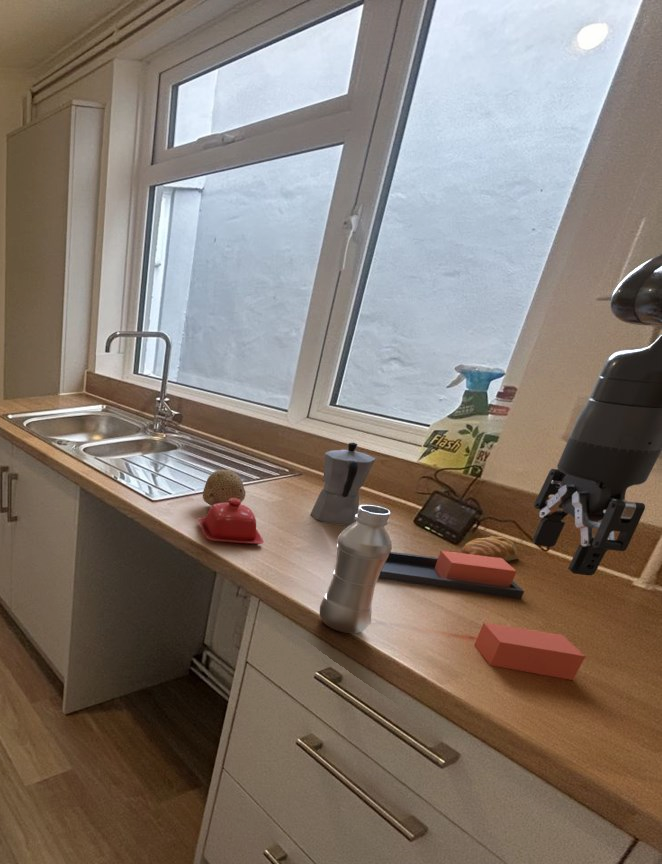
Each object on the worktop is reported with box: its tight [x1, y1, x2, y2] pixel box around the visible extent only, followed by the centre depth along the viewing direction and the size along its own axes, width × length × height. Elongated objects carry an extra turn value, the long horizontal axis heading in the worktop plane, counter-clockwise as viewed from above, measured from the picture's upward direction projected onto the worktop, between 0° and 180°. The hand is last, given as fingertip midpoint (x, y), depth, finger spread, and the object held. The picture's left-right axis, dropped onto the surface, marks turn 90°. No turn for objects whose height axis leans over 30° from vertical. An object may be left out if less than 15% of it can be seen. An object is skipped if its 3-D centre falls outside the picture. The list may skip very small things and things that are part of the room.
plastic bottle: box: [319, 504, 393, 634], centre depth 79 cm, size 6×7×20 cm
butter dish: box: [198, 498, 264, 545], centre depth 112 cm, size 12×12×8 cm
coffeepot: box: [310, 442, 376, 527], centre depth 117 cm, size 15×9×18 cm, turn 153°
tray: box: [378, 551, 525, 600], centre depth 96 cm, size 22×10×2 cm, turn 69°
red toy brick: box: [474, 622, 586, 681], centre depth 74 cm, size 9×5×4 cm, turn 69°
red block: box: [434, 550, 518, 588], centre depth 93 cm, size 9×5×4 cm, turn 69°
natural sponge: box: [202, 469, 247, 507], centre depth 125 cm, size 9×9×10 cm
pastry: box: [460, 535, 519, 562], centre depth 102 cm, size 9×7×4 cm
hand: (560, 558), depth 69 cm, fingers open, 8 cm apart
